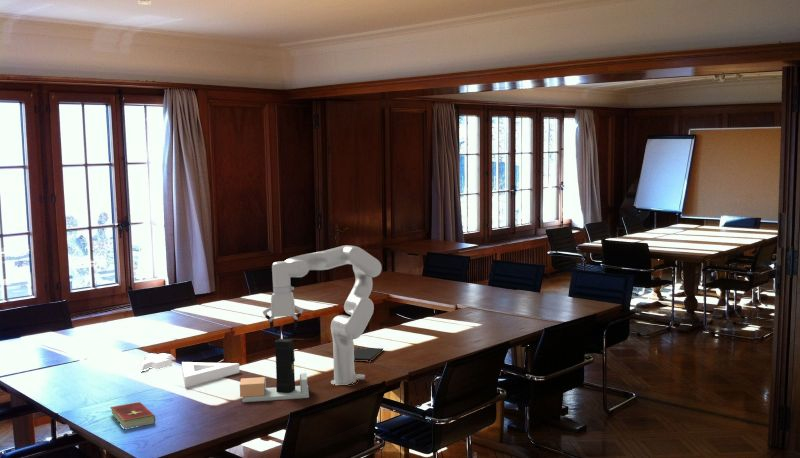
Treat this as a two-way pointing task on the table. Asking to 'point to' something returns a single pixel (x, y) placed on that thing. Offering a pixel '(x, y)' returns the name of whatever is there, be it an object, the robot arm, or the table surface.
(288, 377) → the portable radio
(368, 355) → the external hard drive
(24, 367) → the table surface
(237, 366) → the triangle block
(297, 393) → the vise bed
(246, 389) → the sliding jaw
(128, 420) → the hardcover book
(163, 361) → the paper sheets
